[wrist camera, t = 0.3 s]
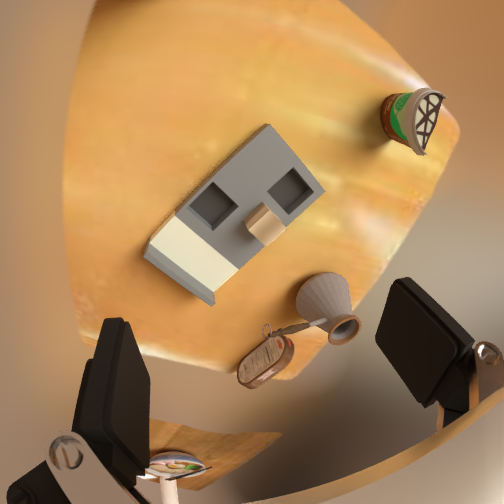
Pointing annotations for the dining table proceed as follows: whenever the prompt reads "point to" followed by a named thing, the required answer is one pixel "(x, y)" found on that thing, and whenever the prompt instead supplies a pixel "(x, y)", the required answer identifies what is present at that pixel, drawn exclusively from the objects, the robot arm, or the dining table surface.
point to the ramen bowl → (175, 465)
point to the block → (264, 224)
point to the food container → (411, 117)
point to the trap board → (231, 213)
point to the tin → (265, 361)
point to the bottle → (168, 491)
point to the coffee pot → (325, 309)
